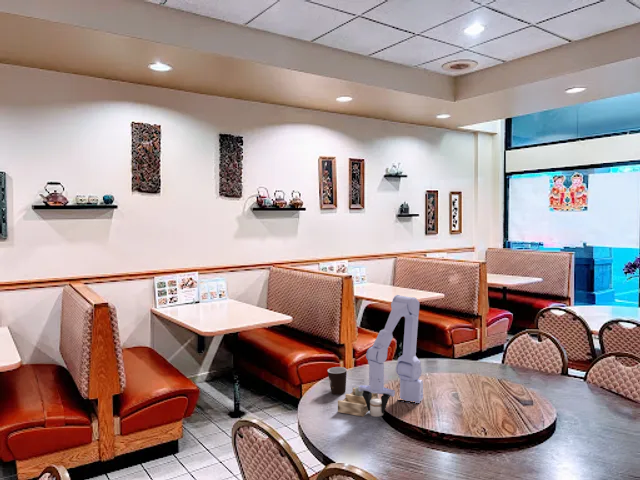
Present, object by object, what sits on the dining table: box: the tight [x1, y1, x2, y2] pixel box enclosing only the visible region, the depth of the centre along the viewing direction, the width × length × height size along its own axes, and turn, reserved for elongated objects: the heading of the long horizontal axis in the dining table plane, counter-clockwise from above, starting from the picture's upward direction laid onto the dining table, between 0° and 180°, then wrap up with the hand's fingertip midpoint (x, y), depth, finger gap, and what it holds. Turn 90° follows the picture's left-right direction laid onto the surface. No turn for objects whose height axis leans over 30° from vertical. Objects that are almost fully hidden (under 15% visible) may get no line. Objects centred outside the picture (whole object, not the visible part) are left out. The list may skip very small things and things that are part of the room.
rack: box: [337, 385, 379, 417], centre depth 204 cm, size 11×17×6 cm, turn 154°
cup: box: [369, 398, 384, 418], centre depth 195 cm, size 5×5×6 cm
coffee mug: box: [327, 366, 348, 396], centre depth 222 cm, size 12×9×10 cm
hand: (376, 411), depth 195 cm, fingers closed on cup, 5 cm apart
